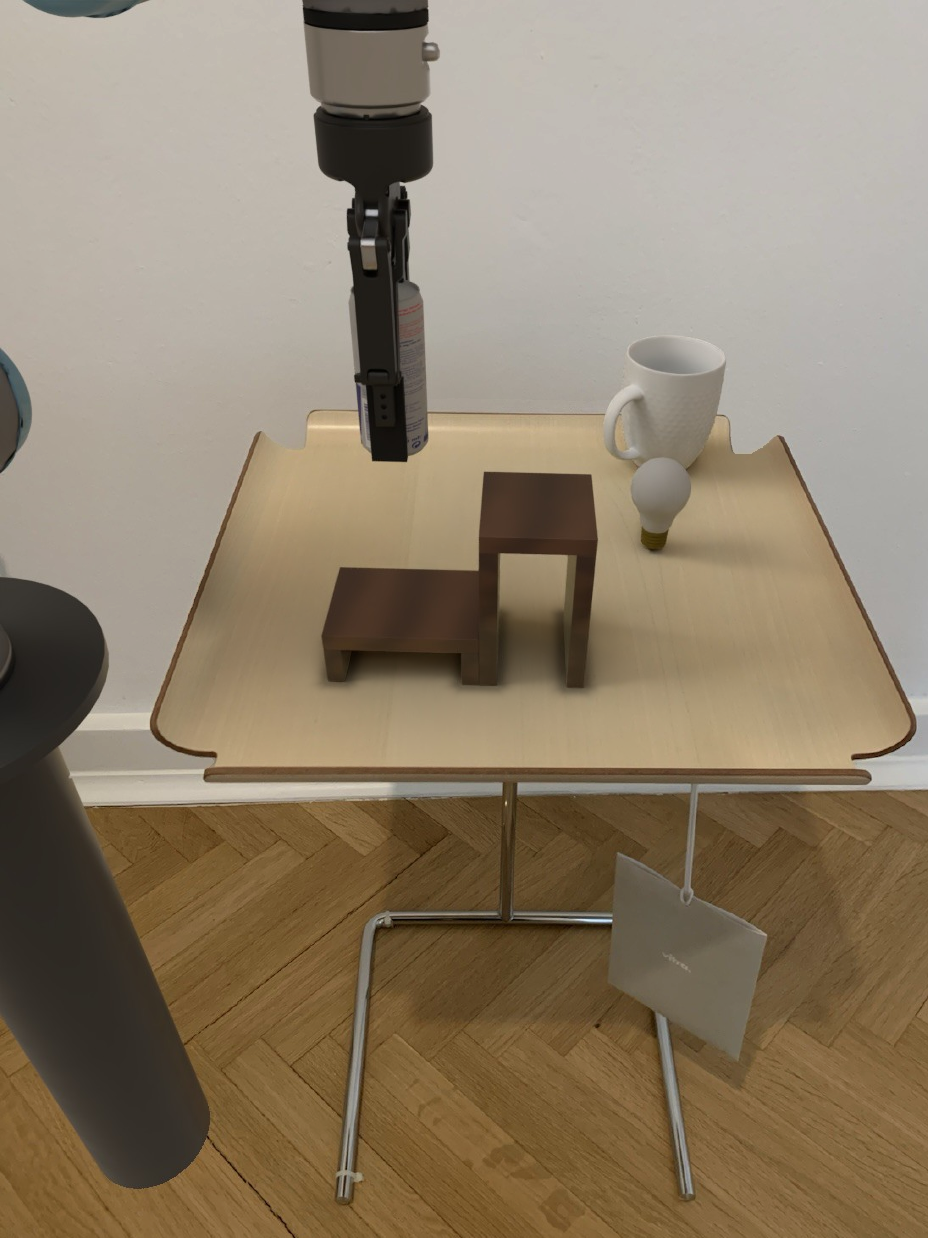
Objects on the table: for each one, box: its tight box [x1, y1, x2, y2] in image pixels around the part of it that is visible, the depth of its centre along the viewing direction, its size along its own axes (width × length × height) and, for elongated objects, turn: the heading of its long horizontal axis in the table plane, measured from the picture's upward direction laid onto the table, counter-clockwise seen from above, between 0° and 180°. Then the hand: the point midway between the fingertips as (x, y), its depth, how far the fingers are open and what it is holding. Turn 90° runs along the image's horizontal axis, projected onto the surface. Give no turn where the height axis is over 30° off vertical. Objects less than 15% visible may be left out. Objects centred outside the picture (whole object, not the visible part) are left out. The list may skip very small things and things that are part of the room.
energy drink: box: [347, 280, 429, 457], centre depth 71 cm, size 5×5×12 cm
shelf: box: [320, 471, 599, 689], centre depth 80 cm, size 22×10×15 cm, turn 89°
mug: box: [602, 334, 727, 470], centre depth 106 cm, size 15×11×13 cm
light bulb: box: [630, 457, 692, 551], centre depth 94 cm, size 6×6×10 cm
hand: (394, 440), depth 75 cm, fingers closed on energy drink, 5 cm apart
